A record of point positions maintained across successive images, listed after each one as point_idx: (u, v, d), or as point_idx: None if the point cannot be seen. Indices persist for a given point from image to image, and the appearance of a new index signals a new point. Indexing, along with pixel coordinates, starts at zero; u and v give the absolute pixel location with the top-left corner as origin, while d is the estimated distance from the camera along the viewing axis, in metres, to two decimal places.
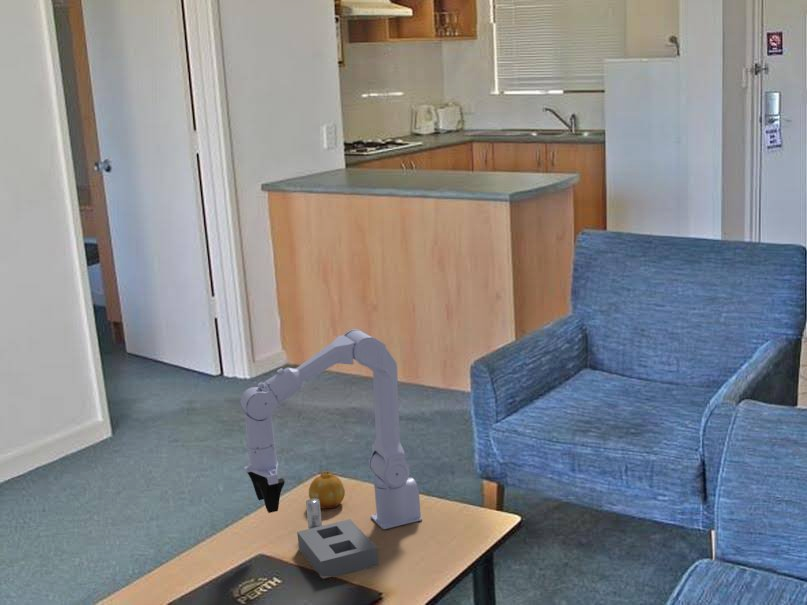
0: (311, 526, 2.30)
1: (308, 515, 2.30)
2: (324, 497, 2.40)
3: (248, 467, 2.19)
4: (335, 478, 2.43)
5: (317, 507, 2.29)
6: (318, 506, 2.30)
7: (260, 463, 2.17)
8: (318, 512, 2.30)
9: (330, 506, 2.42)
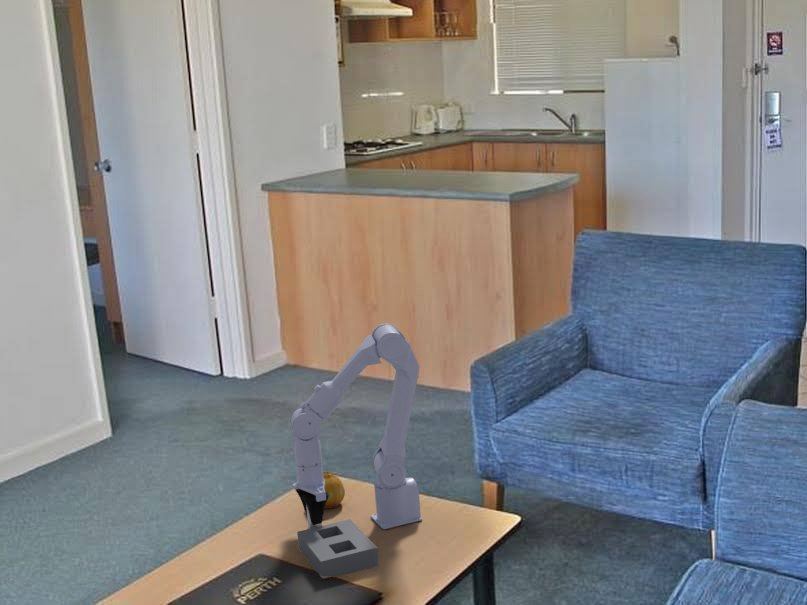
0: (311, 526, 2.30)
1: (308, 515, 2.30)
2: None
3: (296, 484, 2.28)
4: (335, 478, 2.43)
5: None
6: None
7: (308, 480, 2.26)
8: None
9: (330, 506, 2.42)
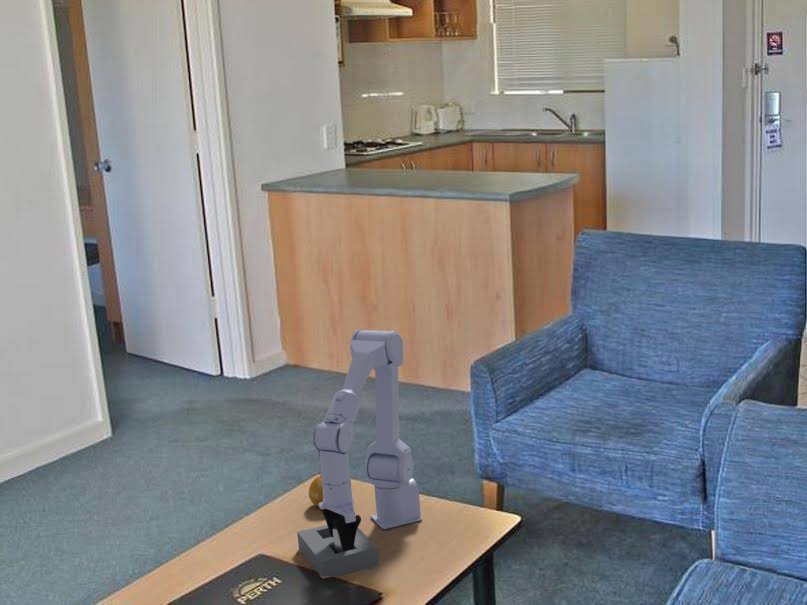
0: None
1: (335, 544, 2.12)
2: None
3: (323, 504, 2.10)
4: None
5: None
6: None
7: (336, 500, 2.08)
8: None
9: None
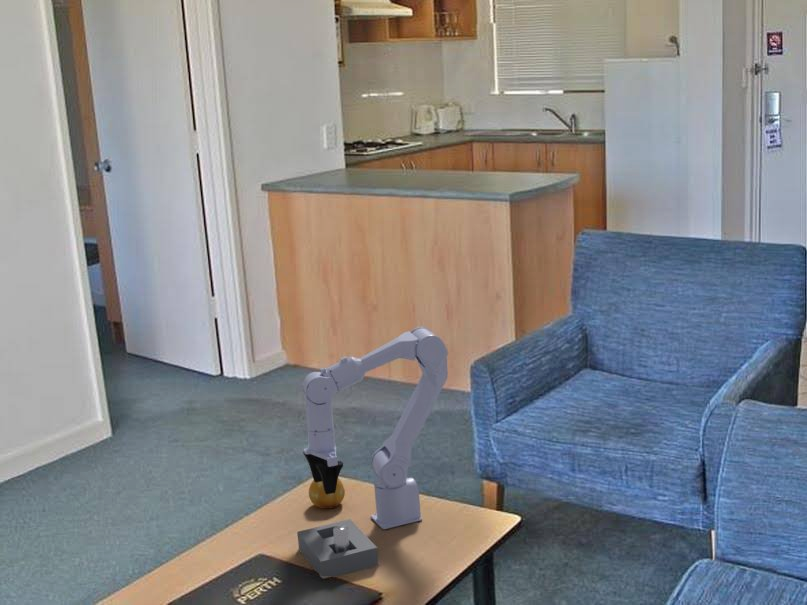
0: None
1: (336, 543, 2.12)
2: (324, 497, 2.40)
3: (307, 449, 2.25)
4: None
5: (345, 535, 2.12)
6: (346, 534, 2.12)
7: (319, 445, 2.24)
8: (346, 540, 2.12)
9: (330, 506, 2.42)
